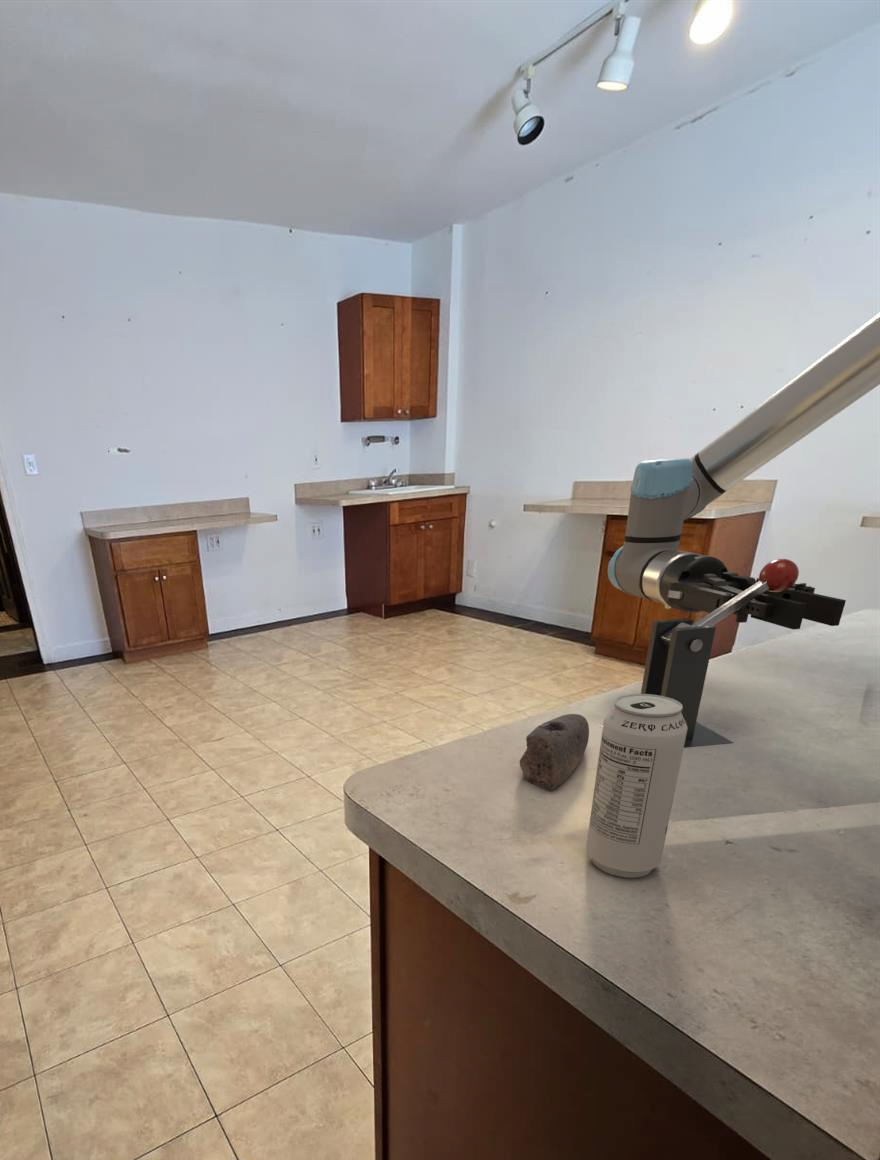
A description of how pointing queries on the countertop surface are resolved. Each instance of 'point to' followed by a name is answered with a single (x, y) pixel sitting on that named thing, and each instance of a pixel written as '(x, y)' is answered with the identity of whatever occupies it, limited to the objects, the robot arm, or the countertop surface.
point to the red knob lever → (749, 593)
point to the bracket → (681, 673)
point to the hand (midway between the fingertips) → (818, 614)
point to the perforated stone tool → (554, 750)
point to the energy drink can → (635, 783)
